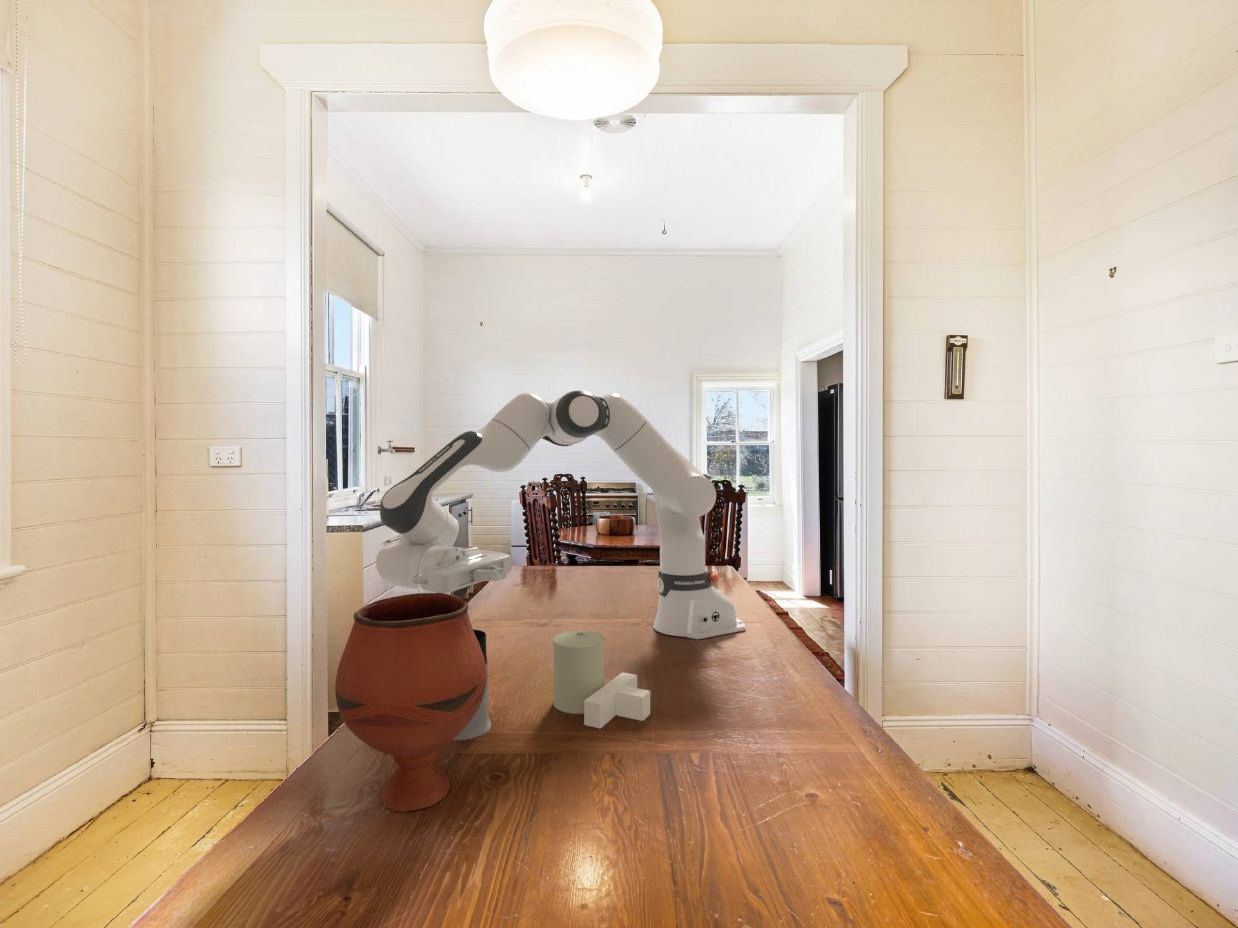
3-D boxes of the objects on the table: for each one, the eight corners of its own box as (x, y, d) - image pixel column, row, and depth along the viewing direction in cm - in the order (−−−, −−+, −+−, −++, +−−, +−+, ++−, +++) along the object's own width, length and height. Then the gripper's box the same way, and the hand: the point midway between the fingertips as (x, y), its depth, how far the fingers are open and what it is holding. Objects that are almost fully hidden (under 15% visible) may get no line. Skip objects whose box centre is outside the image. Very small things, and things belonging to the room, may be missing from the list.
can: (605, 692, 116) (605, 627, 116) (605, 713, 107) (604, 643, 107) (555, 692, 116) (555, 628, 116) (550, 714, 107) (550, 644, 106)
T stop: (584, 724, 103) (584, 700, 103) (622, 693, 115) (622, 672, 115) (628, 734, 99) (628, 709, 99) (662, 701, 112) (662, 679, 112)
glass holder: (500, 719, 105) (499, 630, 105) (456, 760, 91) (454, 658, 91) (453, 713, 107) (452, 626, 107) (403, 753, 94) (402, 653, 93)
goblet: (435, 743, 97) (432, 581, 96) (519, 786, 85) (517, 602, 84) (308, 798, 82) (304, 608, 81) (388, 859, 70) (384, 637, 69)
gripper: (404, 563, 115) (464, 569, 109) (477, 545, 133) (532, 549, 127) (406, 597, 115) (465, 605, 109) (478, 574, 133) (533, 580, 127)
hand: (502, 574), depth 118 cm, fingers closed
